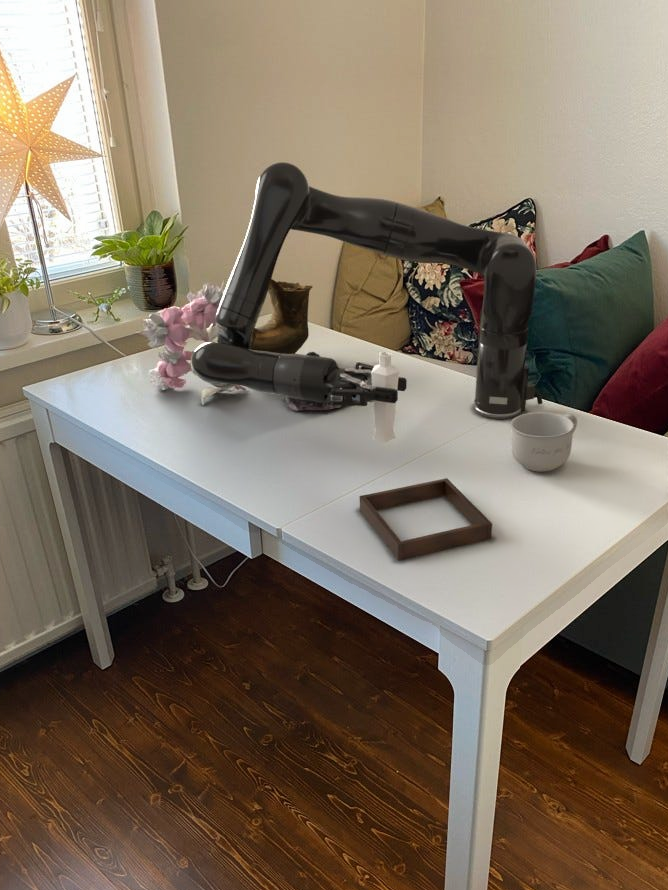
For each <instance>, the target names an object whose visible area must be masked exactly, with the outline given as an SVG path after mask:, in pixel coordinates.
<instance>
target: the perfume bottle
mask: <svg viewBox="0 0 668 890" xmlns="http://www.w3.org/2000/svg"><path fill="white" fill-rule="evenodd" d="M378 356H379V357H378V359H379V361H378V362H379V364H376V365H373V366H374V368H373V370H372V371H371V374H372V386H374V389H375V388H376V387H383V388H390V389H396V390H397V387H398V377H400V376H399V375H400V370H399V369H397V367H395V366H394V365H392V363H391V362H392V356H393V354H392V353H391V352H389V351H380V352H379V353H378ZM372 403H373V417H374V418H373V420H374V434H373V436H372V440H375V441H379V442H382V443H387V442H390V441H393V440H395V439H396V435H395V431H394V427H395V416H396V406H397V402H396V403H388V402H381V401H375V400H374V402H372Z"/></svg>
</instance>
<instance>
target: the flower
mask: <svg viewBox="0 0 668 890" xmlns="http://www.w3.org/2000/svg"><path fill="white" fill-rule="evenodd" d="M224 284H225V279H224V278H222V283H221V285H218V284H214V283H212V285H211V281H208V282H206V283H204V284H203V285H202V288H200V290H198V291H196V292H194V293H192V291H191V290H189V292H188V293H187V295H186V298H187V299H188V301H189V302H188V303H187V304H185V305H184V306H183V307H182V308H181V307H179V306H176V305H175V306H171V307H168V308H167V307H164V309H160V310H158V311H157V312H155V313H149V315H148V318H143V319H142V321H143V322H145V324H144V323H142V326H143V328H144V329H141V332H140V331H139V330H136V333H138V334H141V337H142V336H144V337H146V338H148V339H145V340H144V341H145V343H147V344H146V346H148V347H150V348H152V349H158V348H159V346H164V349H163V351H162V352H160V351H159V352H158V357H159V358H160V359H161V360H159V361H158V362H157V364H156V367H155V368H154V369H150V370H148V374H147V375H148V376H150V378H151V379H150V380H151V381H150V383H151V384H152V388H155V387H156V386H161V385H162V386H161V390H163V391H164V390H166V389H168V388H173V387H174V388H178V389H179V388H180V389H181V388H183V387H184V386H185V385H186V383H187V379H184V378H181V377H183V376H185V375H187V374H188V373H189V372H191V373H192V374H193V375H194V376H197V375H196V374H195V372H194V370H193V368H192V364H191V358H192V354H193V352H194V351H195V350H192V351H190V350H184V349H185V346H187V345H188V344H189V342H187V341H188V340H190V339H194V340H195V341H202V342H204V343H206V342H213V341H214V339H216V338H218V334H219V330H218V328H217V326H216V324H215V316H216V312H217V310H218V308H219V304H220V302H221V299H222V296H223V294H224V291H225V289H224ZM217 285H218V286H217ZM183 323H184V324H183ZM238 390H239V391H244V392H246V390H247V387H245V386H241V385H236V386H234V387H232V388H230V389H221V388H218V387H216V386H212V387H206V388H204V389H202V390H201V395H200V401H201V406H204V405H205V401H206V398H208V397H210V396H212V395H214V394H215V393H216V394H217V393H218V394H219V393H223V392H229V393H232V392H233V391H238Z"/></svg>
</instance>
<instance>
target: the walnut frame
mask: <svg viewBox="0 0 668 890" xmlns="http://www.w3.org/2000/svg"><path fill="white" fill-rule="evenodd" d="M438 497H445V498H446V499H447V500H448V501H449V503H451V504H452V505H453V506H454V507H455V508H456V510H457V511H459V513H460V514H462V516H463V517H464V518H465V519H466V520H467V521H468V522H469V523H470V525H466V526H461V527H457V528H453V529H449V530H448V529H447V530H444V531H439V532H436V533H431V534H426V535H422V536H418V537H417V536H416V537H414V538H409V539H405V540H401V539H400V538H399V537H398V536H397V534H396V532H394V530H393V529H392V528H391V527H390V526H389V524H388V523H387V521H386V520H385V519H384V518H383V517H382V515H381V514H380V513H379V512H378V511H377V510H383V509H386V508H391V507H392V508H393V507H396V506H402V505H405V504H410V503H416V502H420V501H424V500H429V499H434V498H438ZM359 512H360V513H361V515H362V516H363V517H364V519H365V520H366V521H367V523H369V525H370V527H372V529H373V531H375V533H376V534H377V536H379V538H380V539H381V540H382V542H383V543H384V544H385V545H386V547H387V548H388V550H389V551H390V552H391V553H392V555H393V556H394V557H395V558H396V560H397V561H402V560H406V559H410V558H414V557H418V556H423V555H427V554H433V553H436V552H440V551H444V550H449V549H453V548H457V547H462V546H466V545H469V544H470V545H471V544H474V543H478V542H483V541H486V540H491V539H492V533H493V532H492V531H493V522H492V521H491V520H489V518H487V516H486V515H485V514H483V512H481V510H480V509H479V508H478V507H477V506H476V505H475V504H474V503H472V501H470V500H469V498H468V497H467V496H466V495H464V493H463V492H462V491H461V490H460V489H459V488H458V487H457V486H456V485H455V484H454V483H453V482H452V481H451V480H450V479H448V478H447V477H445V478H442V479H440V478H439V479H436V480H431V481H427V482H422V483H416V484H412V485H411V484H410V485H406V486H402V487H397V488H392V489H388V490H383V491H377V492H372V493H368V494H362V495H359Z"/></svg>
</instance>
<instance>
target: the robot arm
mask: <svg viewBox="0 0 668 890" xmlns="http://www.w3.org/2000/svg"><path fill="white" fill-rule="evenodd" d="M250 218H251V219H250V222H249V225H248V229H247V231H246V235H245V238H244V241H243V244H242V247H241V249H240V252H239V254H238V256H237V259H236V261H235V264H234V266H233V269H232V270H231V274H230V276H229V277H228V281H227V283H226V286H225V289H224V290H225V291H224V290H223V291H224V294H223V296H222V299H221V302H220V304H219V308H218V310H217V312H216V316H215V324H216V326H217V328H218V330H219V334H218V337H217V339H216V340H217V341H212V342H206V343H205V342H204V343H201V344H200V345H198V346H197V347H196V348H195V349H194V350H193V351H194V352H193V354H192V358H191V364H192V368H193V370H194V372H195V374H196V375H195V376H197V377H198V378H199V379H200V380H202V381H203V382H205V383H207V384H209V385H212V386H213V387H218V388H221V389H230V388H232V387H234V386H236V385H240V386H242V387H244V388H247V389H250V390H253V391H255V392H260V393H265V394H272V395H279V396H284V397H285V396H286V397H290V398H296V399H303V400H310V401H317V402H324V403H328V402H330V401H331V405H340V406H341V407H342V406H346V407H367V406H368V403H373V402H374V400H375V401H381V402H388V403H396V404H397V402H398V399H399V392H405V391H406V390H407V386H408V384H407V383H408V381H407V380H408V379H407V378H405V377H401V376H399V377H398V387H397V390H396V389H390V388H383V387H376V388H375V389H374V386H372V374H371V371H372V370H373V368H374V366H375V365H371V364H367V363H364V362H355V363H354V364H355V365H354V366H355V367H346V368H340V367H339V366H338V364H337V362H336V360H335V359H334V358H331V357H325V356H320V357H317V356H310V355H306V354H302V353H295V354H283V353H275V352H267V351H256V350H251V349H250V348H251V341H252V333H253V330H254V328H256V326H257V323H258V321H259V317H260V314H261V312H262V310H263V307H264V304H265V301H266V299H267V295H268V289H269V285H270V282H271V279H273V274H274V271H275V268H276V265H277V261H278V258H279V255H280V253H281V250H282V248H283V245H284V243H285V240H286V238H287V236H288V234H289V232H290V231H291V230H293V231H299V232H305V233H311V234H316V235H321V236H326V237H328V238H329V237H330V238H333V239H335V240H339V241H341V242H343V243H346V244H349V245H352V246H355V247H358V248H361V249H365V250H367V251H370V252H374V253H376V254H380V255H383V256H386V257H387V256H388V257H391V258H393V259H397V260H400V261H406V262H409V263H417V264H419V263H420V264H445V265H450V266H451V265H452V266H456V267H459V268H462V269H465V270H468V271H470V272H473V273H476V274H478V275H481V276H482V277H484V285H483V286H484V288H483V299H482V307H481V309H480V313H479V325H478V326H479V328H478V342H477V343H478V344H477V361H476V376H475V377H476V378H475V391H474V392H475V395H474V402H473V411H475V413H476V414H478V415H480V416H482V417H485V418H489V419H490V418H491V419H497V420H500V419H501V420H503V419H511V418H516V417H518V416H519V415H521V413H524V412H526V406H527V405H526V404H527V401H529V400H534V399H535V397H536V401H537V402H536V403H537V405H542V404H543V397H542V394H541V392H540V391H539V390H538V389H536V385H535V384H533V383H532V382H530V381H529V373H530V366H529V365H528V364H527V363H526V358H527V348H528V336H529V326H530V318H531V316H532V314H533V308H534V299H535V291H536V282H537V260H536V257H535V255H534V253H533V252H532V250H531V247H530V246H529V245H528V243H526V241H525V240H524V239H522V238H521V237H520V236H517V235H515V234H511V233H506V232H501V231H495V230H490V229H489V230H488V229H483V228H478V227H473V226H468V225H465V224H461V223H458V222H456V221H455V220H451V219H449V218H446V217H443V216H441V215H437V214H435V213H432V212H429V211H426V210H424V209H421V208H418V207H415V206H411V205H408V204H405V203H401V202H399V201H394V200H390V199H387V198H386V199H385V198H379V197H357V196H356V197H353V196H341V195H337V194H332V193H329V192H326V191H323V190H321V189H318V188H315V187H313V186H310V185H309V182H308V179H307V177H306V175H305V174H304V173H303V171H302V170H301V168H299V167H298V166H297V165H295V164H293V163H289V162H287V161H286V162H285V161H282V162H281V161H280V162H275V163H272V164H270V165H269V166H267V167H266V168H265V169H264V170H263V171H262V172H261V174H260V175H259V177H258V179H257V182H256V186H255V198H254V204H253V209H252V214H251V217H250ZM255 325H256V326H255Z"/></svg>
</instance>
